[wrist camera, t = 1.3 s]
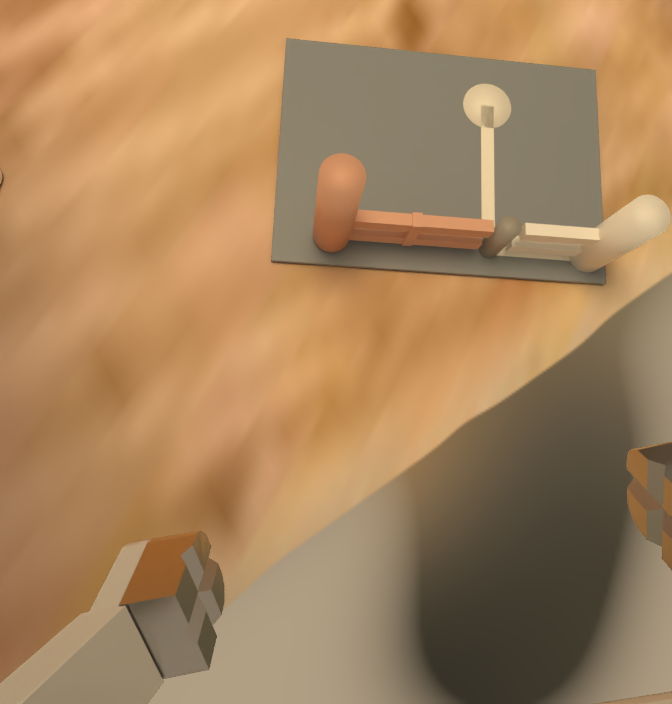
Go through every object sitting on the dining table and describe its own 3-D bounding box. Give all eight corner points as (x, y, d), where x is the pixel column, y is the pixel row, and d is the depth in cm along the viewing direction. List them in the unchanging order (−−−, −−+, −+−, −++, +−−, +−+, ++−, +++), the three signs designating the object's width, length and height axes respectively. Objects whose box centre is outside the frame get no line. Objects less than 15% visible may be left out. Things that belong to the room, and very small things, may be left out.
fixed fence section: (478, 230, 46) (519, 183, 37) (601, 240, 46) (669, 196, 38) (478, 265, 45) (520, 225, 37) (603, 273, 46) (672, 237, 38)
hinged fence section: (313, 215, 44) (319, 151, 34) (475, 228, 45) (526, 169, 35) (311, 250, 43) (317, 195, 34) (476, 262, 44) (527, 212, 35)
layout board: (286, 41, 48) (286, 37, 47) (593, 72, 50) (595, 69, 49) (271, 261, 44) (271, 260, 43) (603, 284, 46) (606, 283, 46)
